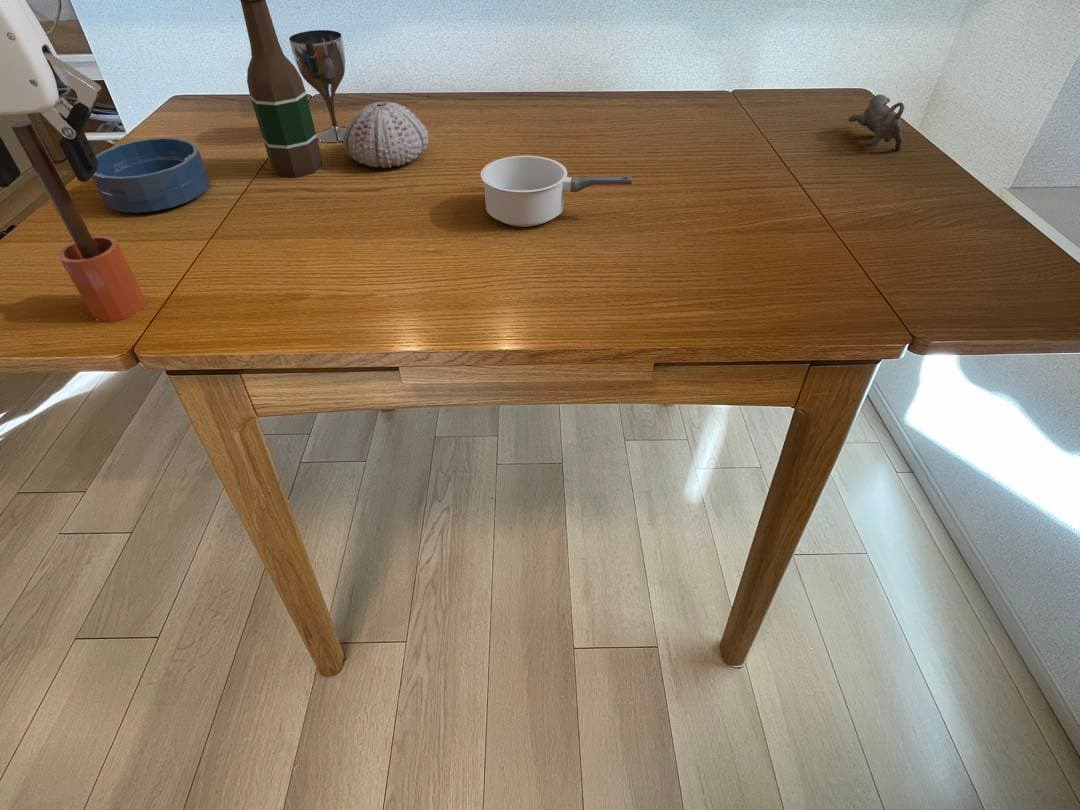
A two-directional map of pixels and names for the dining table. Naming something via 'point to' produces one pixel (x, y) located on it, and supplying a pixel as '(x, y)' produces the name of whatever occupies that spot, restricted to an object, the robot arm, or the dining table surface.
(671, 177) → the dining table surface
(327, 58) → the wine glass
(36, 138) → the spatula
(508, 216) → the saucepan
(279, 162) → the beer bottle
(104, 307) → the utensil pot
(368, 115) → the sea urchin shell
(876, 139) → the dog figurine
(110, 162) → the bowl
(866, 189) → the dining table surface
